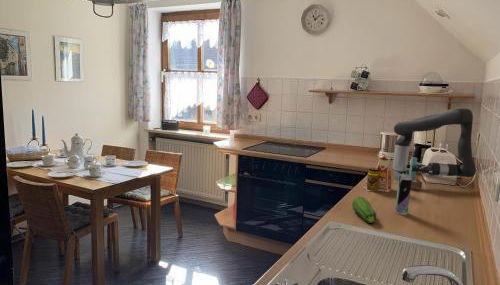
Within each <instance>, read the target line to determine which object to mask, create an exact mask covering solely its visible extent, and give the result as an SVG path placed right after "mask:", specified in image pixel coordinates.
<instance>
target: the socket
mask: <svg viewBox="0 0 500 285" xmlns="http://www.w3.org/2000/svg"><path fill="white" fill-rule="evenodd" d="M415 181H417V182H414V181H412V183H411V191H422V186H423V182H422V181H421V180H419V179H416V178H415Z"/></svg>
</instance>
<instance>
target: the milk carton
mask: <svg viewBox="0 0 500 285" xmlns="http://www.w3.org/2000/svg"><path fill="white" fill-rule="evenodd" d="M376 168H378V169H379V184H378V190H380V191H379V192H384V191H385V192H386V193H389V192H390V191H391V190H392V188H393V187H392V186H393V185H392V181H393V180H392V179H393V178H392V161H391V160H390V159H389V158H388V157H387V155H386V154H383V157H381V158H379V161H378V163H377V166H376Z"/></svg>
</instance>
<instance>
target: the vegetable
mask: <svg viewBox="0 0 500 285" xmlns="http://www.w3.org/2000/svg"><path fill="white" fill-rule="evenodd" d="M351 207H352V209H353V211H354V212H355V213H356V214H358V216H360V217H361V218H362V219H363V221H364V222H367V223H368V224H370V223H371V224H372V223H375V221H376V220H377V213H376V211H375V210H374V208H373V206H372V205H371V203H370V202H369V201H368V200H367V199H366V198H365V197H363V196H357V197H355V198H353V200H352V203H351Z"/></svg>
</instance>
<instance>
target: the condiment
mask: <svg viewBox="0 0 500 285" xmlns="http://www.w3.org/2000/svg"><path fill="white" fill-rule="evenodd" d="M378 184H379V169H378V168H377V167H369V168H368V173H367V180H366V186H363V188H364V189H365V190H366V191H367V192H381V191H380V190H378Z"/></svg>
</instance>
